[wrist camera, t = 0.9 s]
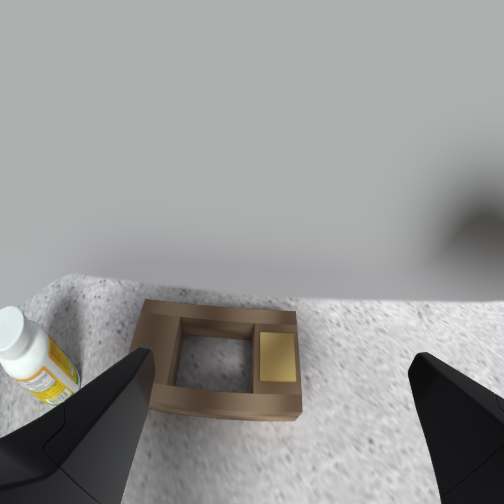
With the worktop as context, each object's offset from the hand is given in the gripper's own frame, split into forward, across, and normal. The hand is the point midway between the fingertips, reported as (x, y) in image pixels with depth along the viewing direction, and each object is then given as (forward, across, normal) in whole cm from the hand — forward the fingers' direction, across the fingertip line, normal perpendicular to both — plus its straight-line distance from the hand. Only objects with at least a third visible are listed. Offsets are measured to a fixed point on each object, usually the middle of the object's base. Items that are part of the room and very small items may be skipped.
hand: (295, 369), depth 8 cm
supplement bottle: (+8, +18, +14) cm, 24 cm away
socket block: (+12, +4, +12) cm, 17 cm away
